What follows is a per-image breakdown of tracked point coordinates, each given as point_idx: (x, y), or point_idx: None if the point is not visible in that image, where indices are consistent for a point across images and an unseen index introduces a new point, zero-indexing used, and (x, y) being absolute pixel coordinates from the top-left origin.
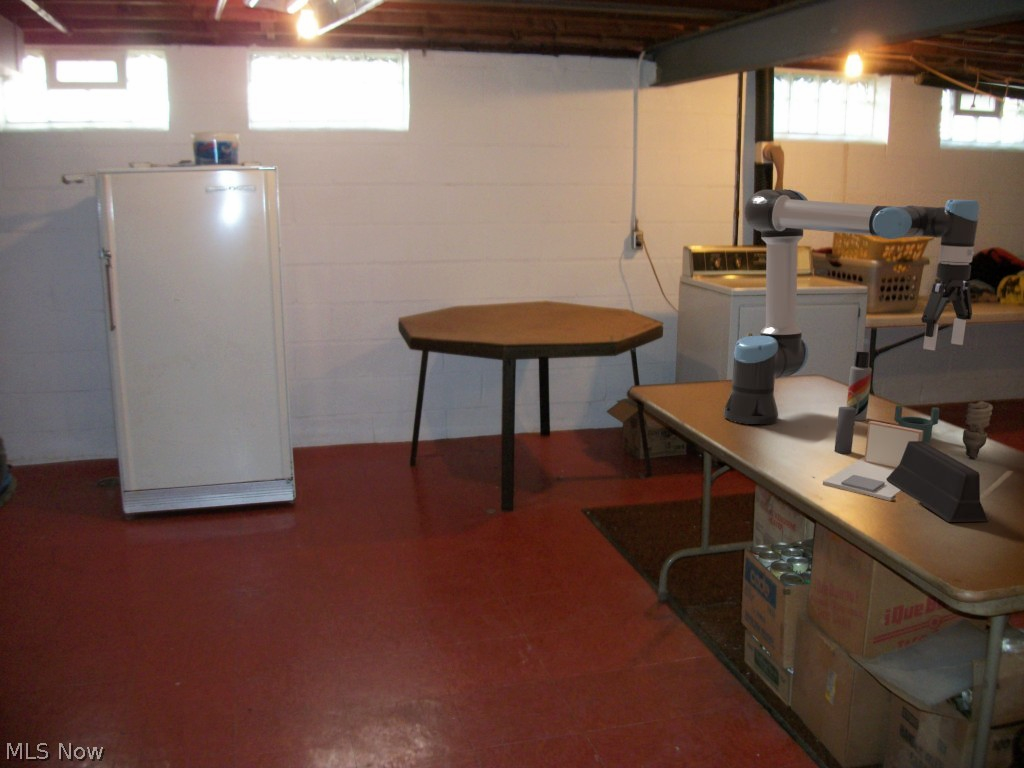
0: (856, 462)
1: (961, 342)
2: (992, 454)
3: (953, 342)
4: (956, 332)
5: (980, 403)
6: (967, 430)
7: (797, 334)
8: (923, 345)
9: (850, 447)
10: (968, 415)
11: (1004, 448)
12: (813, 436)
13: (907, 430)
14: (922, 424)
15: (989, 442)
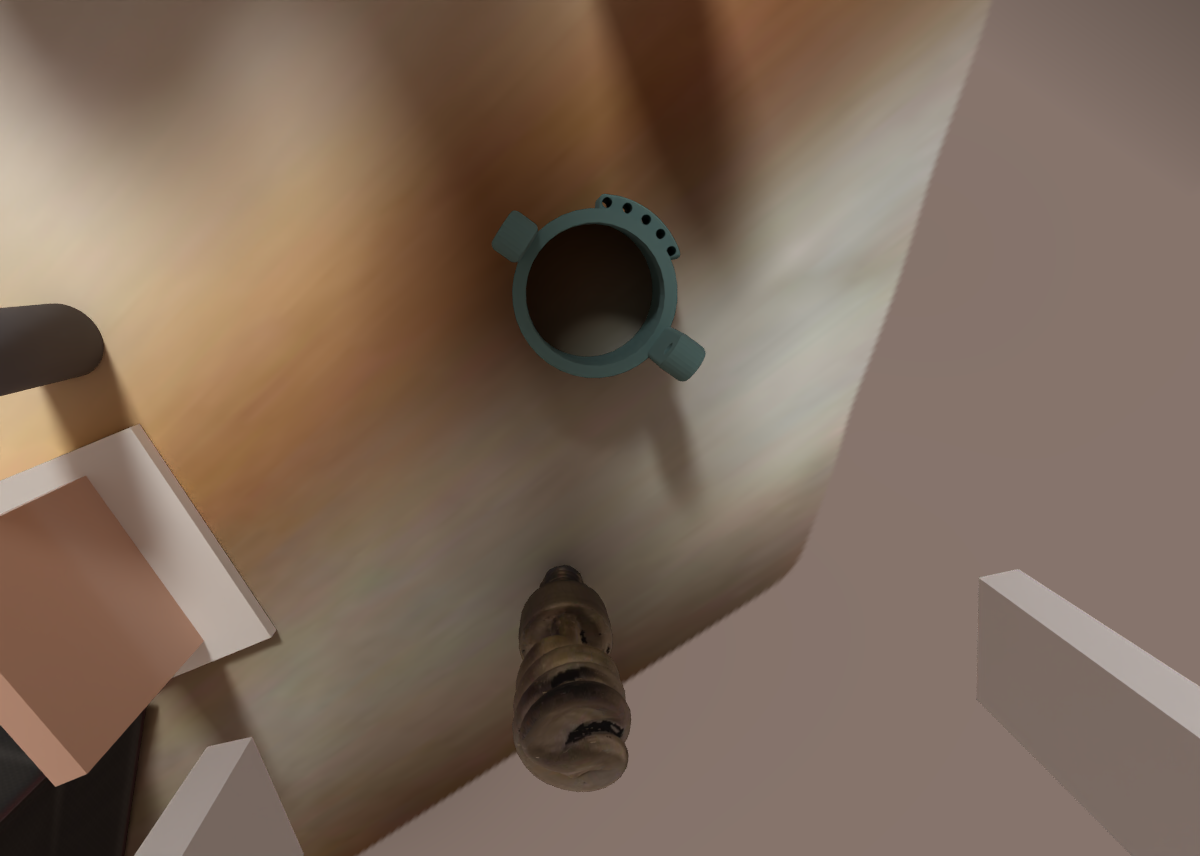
0: (14, 482)
1: (1004, 722)
2: (690, 563)
3: (990, 619)
4: (1140, 759)
5: (558, 771)
6: (553, 619)
7: None
8: (181, 787)
9: (42, 385)
10: (518, 692)
11: (803, 530)
12: (105, 25)
13: (18, 734)
14: (564, 363)
15: (829, 457)
